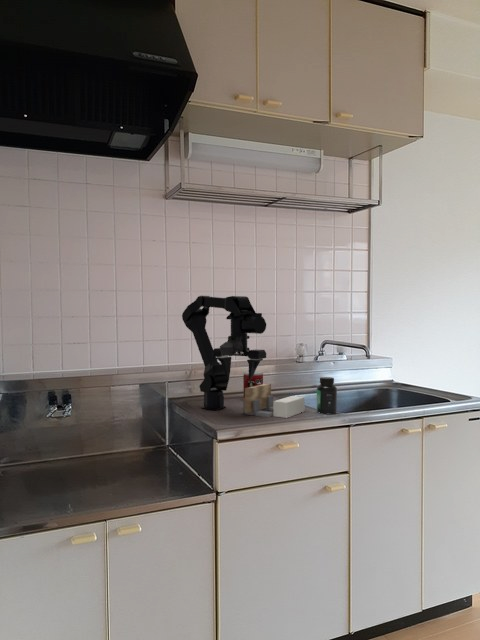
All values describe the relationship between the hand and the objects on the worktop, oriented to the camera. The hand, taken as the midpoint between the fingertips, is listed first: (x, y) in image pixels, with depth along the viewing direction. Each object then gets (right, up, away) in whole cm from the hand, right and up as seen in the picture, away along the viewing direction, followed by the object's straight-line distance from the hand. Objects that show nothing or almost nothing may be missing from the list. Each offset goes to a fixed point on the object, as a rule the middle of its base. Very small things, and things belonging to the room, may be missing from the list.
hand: (238, 378), depth 170 cm
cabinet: (+12, -12, +2) cm, 17 cm away
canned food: (+6, -12, +26) cm, 30 cm away
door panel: (+7, -11, +3) cm, 13 cm away
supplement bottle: (+30, -12, +2) cm, 33 cm away
